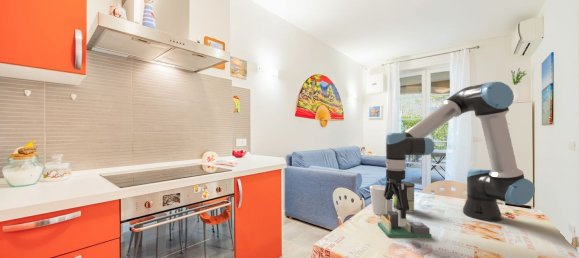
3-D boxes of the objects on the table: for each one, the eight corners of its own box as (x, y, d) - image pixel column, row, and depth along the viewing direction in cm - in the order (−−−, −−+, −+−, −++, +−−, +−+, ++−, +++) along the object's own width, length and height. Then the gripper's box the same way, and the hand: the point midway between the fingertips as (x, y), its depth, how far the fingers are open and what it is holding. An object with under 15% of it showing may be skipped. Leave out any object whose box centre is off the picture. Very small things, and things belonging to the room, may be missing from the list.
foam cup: (389, 211, 128) (390, 186, 128) (388, 217, 119) (389, 190, 120) (370, 208, 132) (370, 184, 132) (368, 214, 123) (368, 188, 124)
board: (416, 225, 109) (416, 215, 109) (431, 237, 97) (431, 225, 97) (377, 225, 109) (377, 214, 109) (387, 236, 97) (388, 224, 97)
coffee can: (396, 212, 127) (396, 184, 127) (391, 206, 137) (391, 180, 137) (417, 213, 126) (417, 185, 126) (410, 207, 136) (410, 181, 136)
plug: (396, 225, 106) (396, 211, 106) (400, 228, 102) (400, 214, 102) (387, 225, 106) (387, 211, 106) (391, 228, 102) (391, 214, 102)
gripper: (376, 164, 116) (376, 210, 116) (399, 174, 91) (398, 231, 91) (392, 165, 116) (392, 210, 116) (419, 174, 91) (419, 232, 91)
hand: (395, 219), depth 104 cm, fingers open, 13 cm apart
